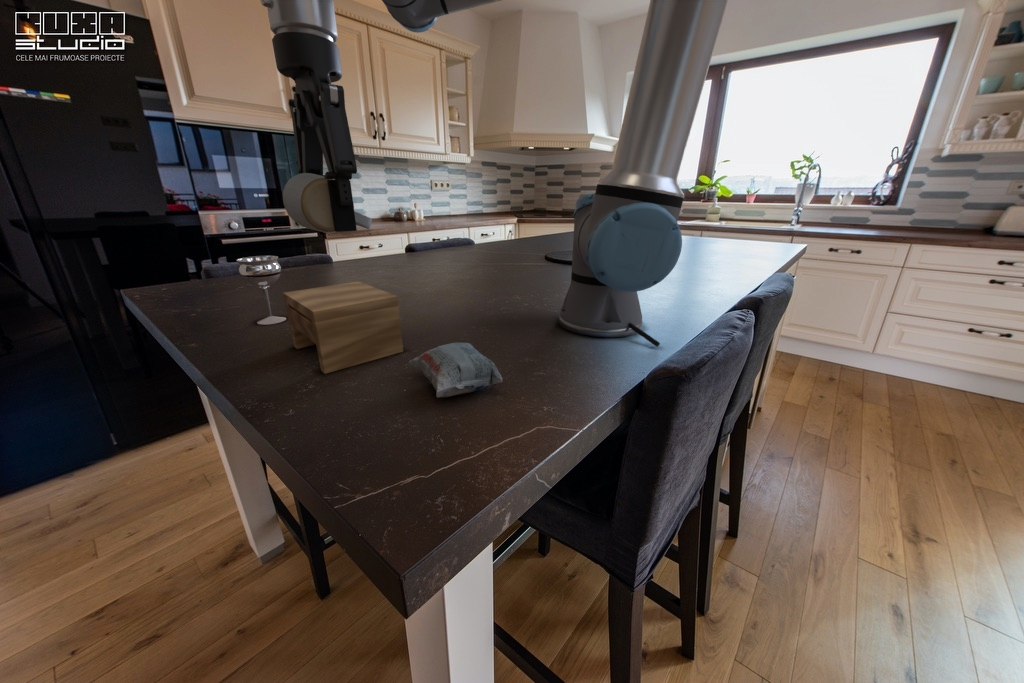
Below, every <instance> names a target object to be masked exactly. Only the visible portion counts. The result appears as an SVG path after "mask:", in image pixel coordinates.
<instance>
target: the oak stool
mask: <svg viewBox="0 0 1024 683" xmlns="http://www.w3.org/2000/svg"><path fill="white" fill-rule="evenodd" d="M282 296H283V300H284V304H285V309H286V314H287V318H288V322H289V323H288V324H289V328H290V333H291V337H292V342H293V347H294V348H295V349H296V350H299V349H303V348H307V347H308V348H309V347H312V346H316V351H317V356H318V362H319V367H320V371H321V372H322V373H323V374H325V375H326V374H329V373H333V372H336V371H340V370H344V369H348V368H351V367H354V366H358V365H361V364H365V363H369V362H372V361H376V360H379V359H382V358H386V357H390V356H393V355H396V354H401V353H403V352H404V345H403V336H402V325H401V315H400V306H399V297H398V295H396V294H393V293H390V292H388V291H386V290H382V289H380V288H377V287H375V286H372V285H370V284H367V283H364V282H361V281H352V282H345V283H339V284H331V285H326V286H319V287H311V288H306V289H299V290H291V291H284V292H282Z"/></svg>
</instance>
